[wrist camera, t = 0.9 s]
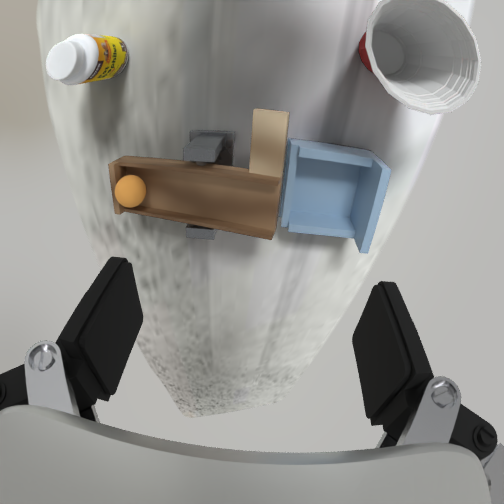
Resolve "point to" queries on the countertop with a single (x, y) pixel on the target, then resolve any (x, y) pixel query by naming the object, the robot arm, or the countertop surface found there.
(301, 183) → the blue tray
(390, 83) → the plastic cup
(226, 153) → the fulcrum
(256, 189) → the lever
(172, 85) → the countertop surface
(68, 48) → the supplement bottle
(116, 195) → the ball
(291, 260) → the countertop surface
